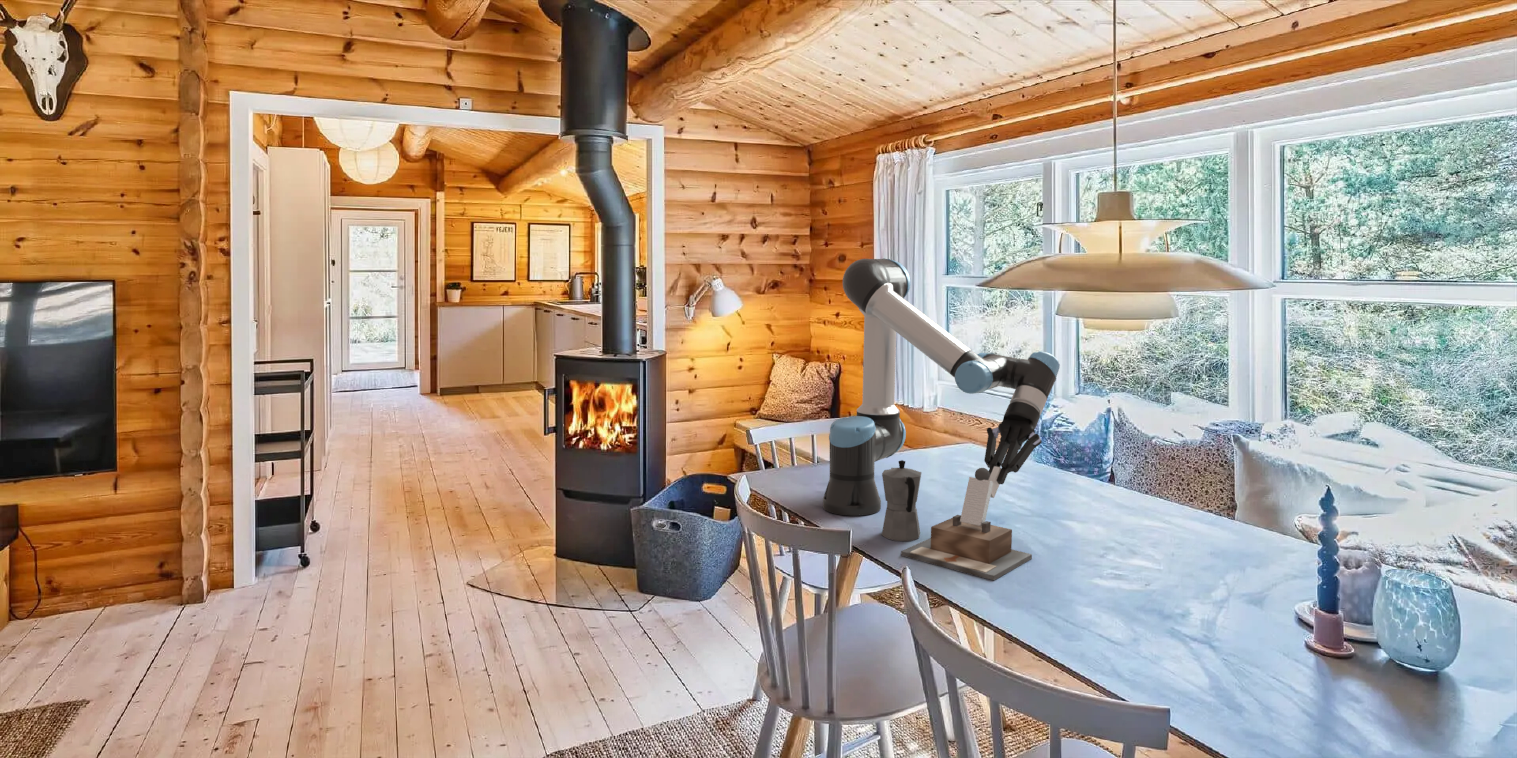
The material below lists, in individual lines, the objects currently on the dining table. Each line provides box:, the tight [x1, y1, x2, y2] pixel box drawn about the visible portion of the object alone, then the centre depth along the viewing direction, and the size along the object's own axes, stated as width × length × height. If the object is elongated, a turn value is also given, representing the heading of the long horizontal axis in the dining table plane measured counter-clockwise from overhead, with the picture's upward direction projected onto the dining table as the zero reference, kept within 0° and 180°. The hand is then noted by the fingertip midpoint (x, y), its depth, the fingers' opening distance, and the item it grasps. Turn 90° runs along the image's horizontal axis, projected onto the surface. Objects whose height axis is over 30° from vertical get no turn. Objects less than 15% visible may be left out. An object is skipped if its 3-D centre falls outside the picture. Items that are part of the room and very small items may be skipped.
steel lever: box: [960, 467, 993, 527], centre depth 181 cm, size 5×3×13 cm, turn 47°
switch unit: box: [900, 514, 1033, 581], centre depth 179 cm, size 22×17×8 cm
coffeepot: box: [881, 459, 922, 542], centre depth 193 cm, size 15×9×18 cm, turn 6°
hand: (988, 494), depth 184 cm, fingers closed
